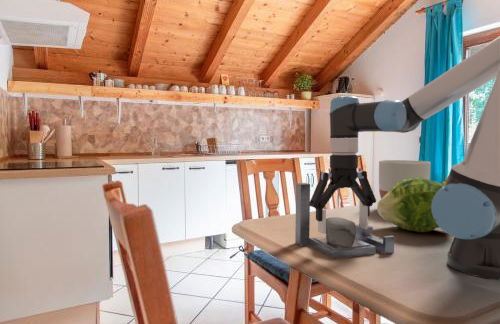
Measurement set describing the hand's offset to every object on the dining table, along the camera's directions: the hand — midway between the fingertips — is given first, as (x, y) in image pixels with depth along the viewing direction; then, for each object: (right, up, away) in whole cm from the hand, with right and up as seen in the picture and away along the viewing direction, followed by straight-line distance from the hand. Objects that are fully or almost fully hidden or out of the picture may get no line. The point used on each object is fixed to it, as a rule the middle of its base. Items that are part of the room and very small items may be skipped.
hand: (343, 230), depth 99 cm
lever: (+8, -2, +9) cm, 12 cm away
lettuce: (+30, -5, +22) cm, 37 cm away
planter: (+40, -2, +56) cm, 69 cm away
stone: (-1, -4, +1) cm, 4 cm away
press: (+1, -6, +3) cm, 6 cm away
